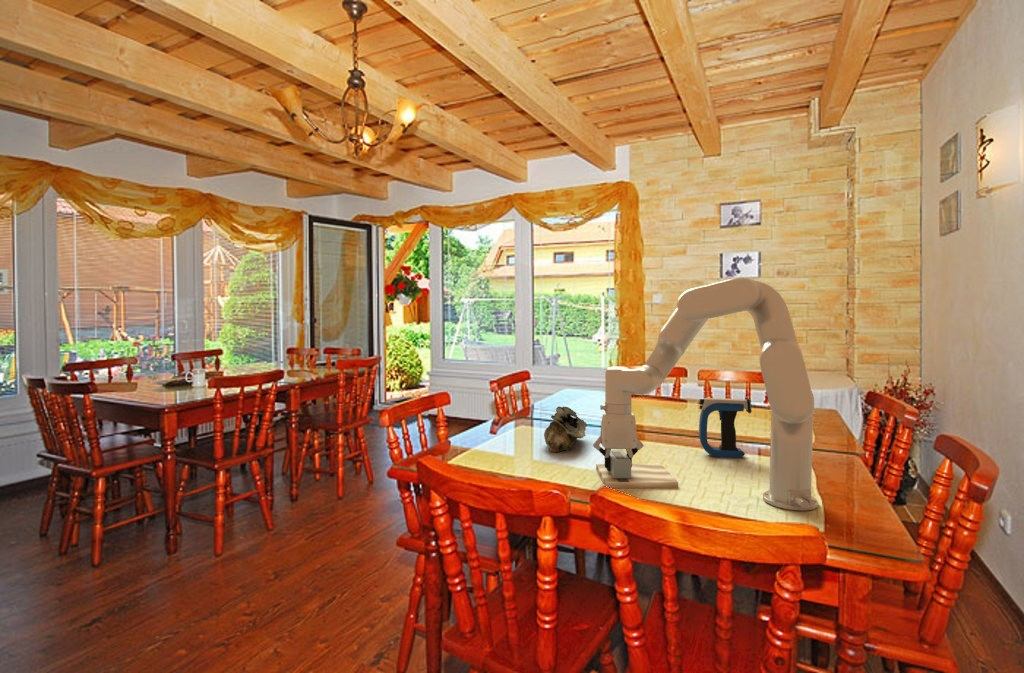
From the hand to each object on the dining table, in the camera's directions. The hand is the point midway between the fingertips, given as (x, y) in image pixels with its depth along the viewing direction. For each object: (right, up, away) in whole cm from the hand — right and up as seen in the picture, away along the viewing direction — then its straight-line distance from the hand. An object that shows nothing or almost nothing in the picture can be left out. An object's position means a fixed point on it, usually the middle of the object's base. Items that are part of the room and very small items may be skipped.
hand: (618, 469), depth 161 cm
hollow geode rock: (-11, -1, +39) cm, 41 cm away
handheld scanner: (+40, -1, +22) cm, 46 cm away
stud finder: (0, -1, 0) cm, 1 cm away
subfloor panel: (+5, -2, 0) cm, 6 cm away
